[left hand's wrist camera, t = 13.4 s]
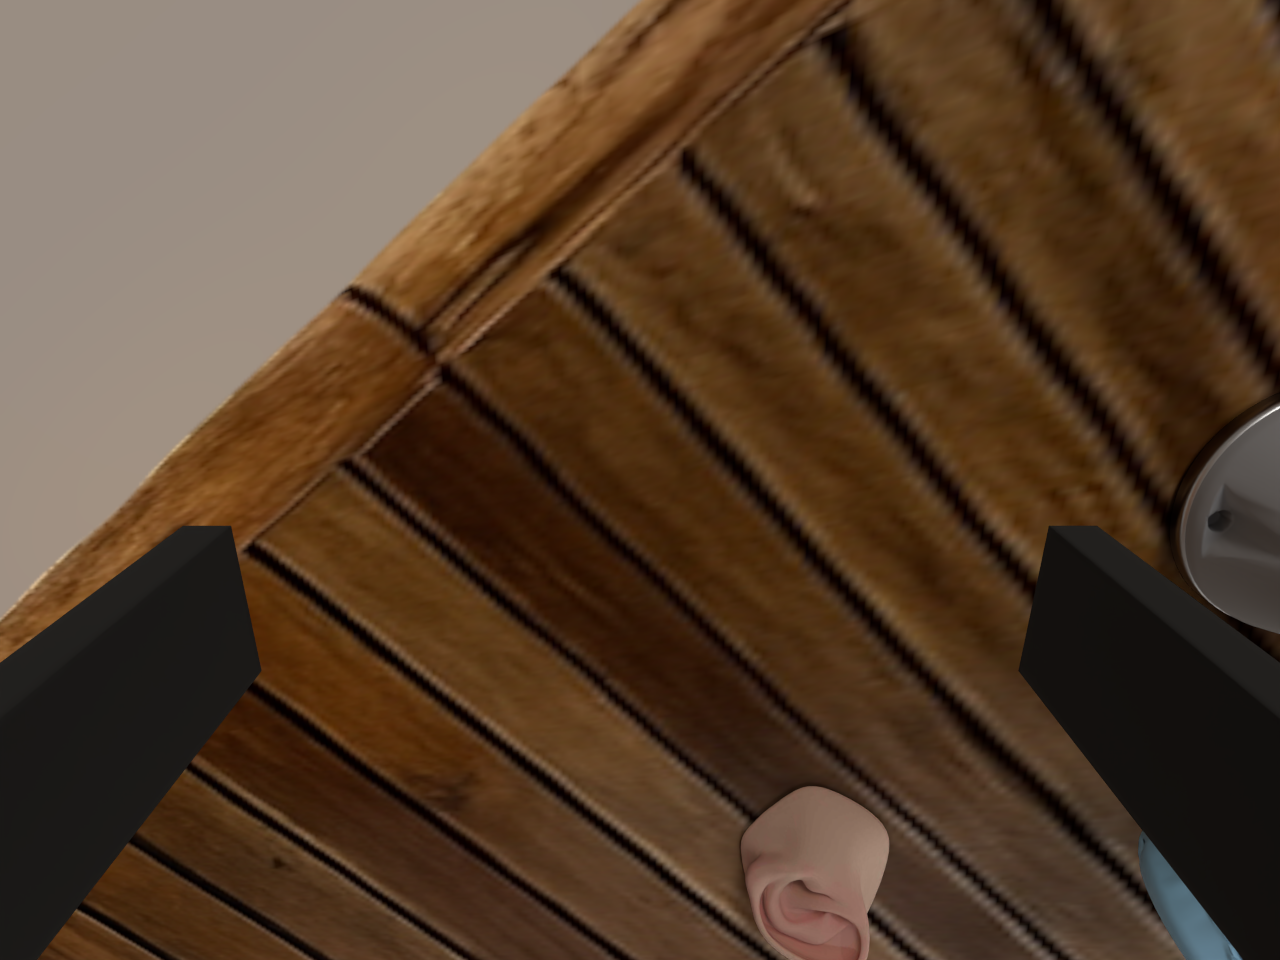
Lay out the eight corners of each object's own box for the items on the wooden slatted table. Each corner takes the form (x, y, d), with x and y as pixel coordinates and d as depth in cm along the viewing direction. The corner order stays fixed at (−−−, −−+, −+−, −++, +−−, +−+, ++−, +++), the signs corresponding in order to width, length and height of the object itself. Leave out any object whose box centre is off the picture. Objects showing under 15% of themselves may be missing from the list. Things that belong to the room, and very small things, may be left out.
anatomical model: (782, 817, 49) (944, 858, 51) (772, 772, 53) (923, 812, 54) (712, 956, 54) (862, 991, 55) (707, 906, 58) (848, 940, 59)
